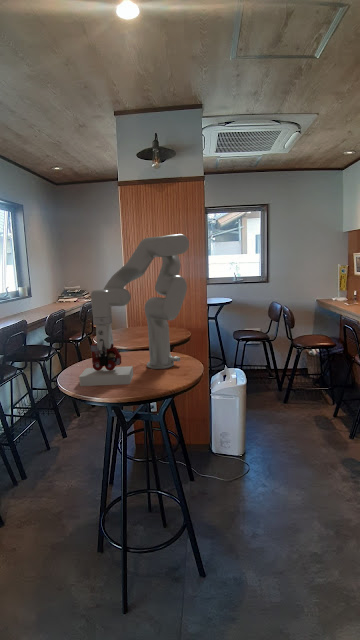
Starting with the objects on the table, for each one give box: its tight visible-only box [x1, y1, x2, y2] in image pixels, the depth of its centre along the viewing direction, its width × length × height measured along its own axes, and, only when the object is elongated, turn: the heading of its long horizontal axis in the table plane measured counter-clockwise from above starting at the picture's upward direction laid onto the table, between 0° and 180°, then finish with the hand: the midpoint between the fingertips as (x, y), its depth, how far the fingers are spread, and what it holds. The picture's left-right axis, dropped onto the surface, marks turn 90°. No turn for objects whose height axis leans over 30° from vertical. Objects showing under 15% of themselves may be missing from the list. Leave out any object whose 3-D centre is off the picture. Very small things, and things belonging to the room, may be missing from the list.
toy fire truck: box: [89, 343, 122, 371], centre depth 152 cm, size 7×12×10 cm, turn 83°
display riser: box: [78, 365, 134, 387], centre depth 153 cm, size 20×11×4 cm, turn 90°
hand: (106, 362), depth 152 cm, fingers closed on toy fire truck, 7 cm apart
